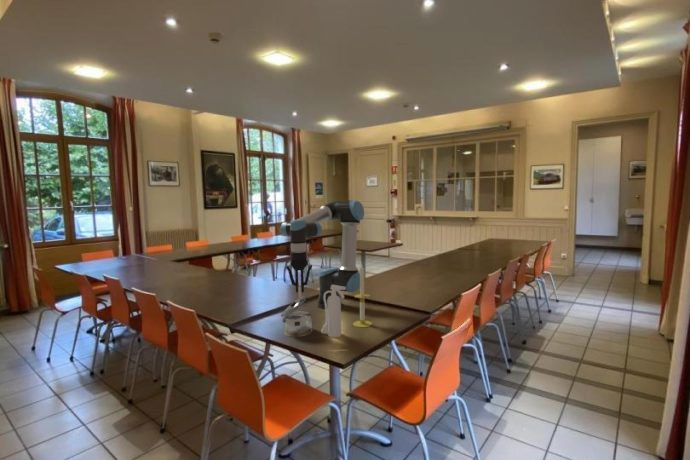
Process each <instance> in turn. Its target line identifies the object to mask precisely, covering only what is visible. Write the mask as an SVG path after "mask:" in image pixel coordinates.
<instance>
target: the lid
mask: <svg viewBox="0 0 690 460" xmlns="http://www.w3.org/2000/svg"><path fill="white" fill-rule="evenodd" d="M306 300H307V297H306V296H305V295H302V300H298V298H297V299H296V300H294V301H292V303H290V305H288V306H287V307H286V308H285V310H283V312H282V313H281V315H280V317H281V318H284V317H285V316H288V315H289V314H291V313H292V312H296V311H297V310H298V309H299V308H300V307H301V306H302V305H303V304H304V303H305V302H306Z"/></svg>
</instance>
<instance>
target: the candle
mask: <svg viewBox="0 0 690 460" xmlns="http://www.w3.org/2000/svg"><path fill="white" fill-rule="evenodd" d="M359 273H360V287H359V293H355V294H354V295H353V296H354V298H355V299H359V320H356V321H354V322H353V323H352V325H353V326H354V327H356V328H370V327H372V325H373V323H372V322H371V321H369V320H366V310H365V308H366V307H365V306H366V305H365V304H366V303H365V299H367V298H368V299H369V298H370V297H371V295H370V294H369V293H365V269H364V266H363V263H361V265H360V267H359Z"/></svg>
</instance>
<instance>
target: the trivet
mask: <svg viewBox="0 0 690 460" xmlns="http://www.w3.org/2000/svg"><path fill="white" fill-rule="evenodd" d="M313 331H314V329H313V328H312V331H311V332H310V333H309V334H306V335H302V336H301V337H304V336H308V335H310V334H312V333H313ZM284 334H285V335H286V336H290V337H292V336H291V335H288V334H286V333H285V330H284Z"/></svg>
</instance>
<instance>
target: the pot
mask: <svg viewBox="0 0 690 460" xmlns="http://www.w3.org/2000/svg"><path fill="white" fill-rule="evenodd" d="M282 323H284V325H285V326H284V328H285V329H284V331H285V333H286V334H288V335H291V336H290V337H303V336H302V335H305V336H307V335H306V334H308V335H310V334H311V333H310V332H311V331H312V329H313V327H312V324H313V323H312V314H311V313H310V312H309V311H303V310H301V311H299V310H298V311H297V310H295V311H294V312H292V313H291V314H289V315H288V316H285V317H284V316H283V317H282ZM312 332H313V331H312ZM285 333H284V334H285ZM309 333H310V334H309ZM286 334H285V335H286ZM288 335H287V336H288Z"/></svg>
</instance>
